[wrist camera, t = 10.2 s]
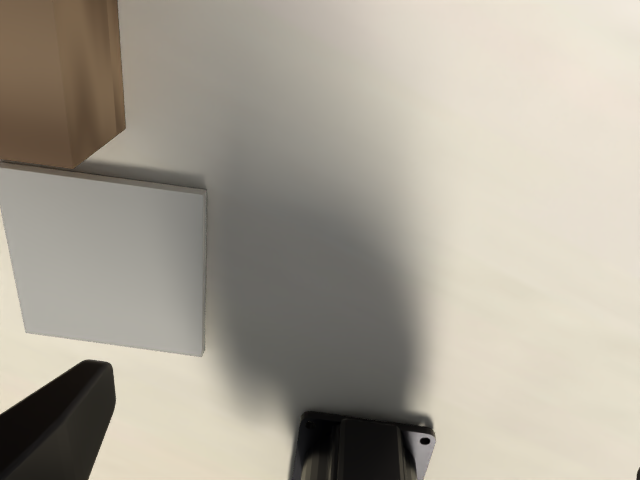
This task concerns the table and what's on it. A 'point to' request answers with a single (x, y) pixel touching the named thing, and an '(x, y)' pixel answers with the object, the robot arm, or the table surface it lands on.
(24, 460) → the robot arm
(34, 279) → the pad
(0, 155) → the socket block
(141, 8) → the table surface
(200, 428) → the table surface
